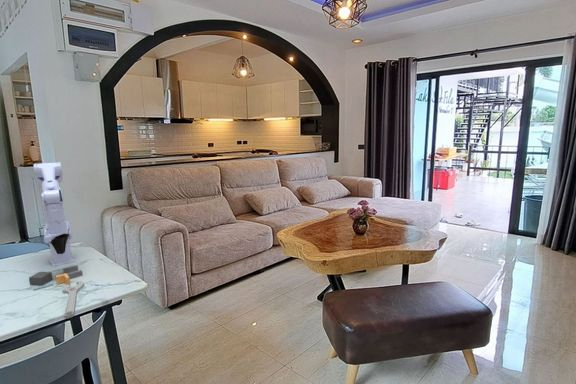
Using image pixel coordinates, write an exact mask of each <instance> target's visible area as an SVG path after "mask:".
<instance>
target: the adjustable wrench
mask: <svg viewBox="0 0 576 384" xmlns="http://www.w3.org/2000/svg"><path fill="white" fill-rule="evenodd" d="M84 287H85V282H84V281H79V280H77V281H76V285H73V286H71V285H67V284H66V285H64V287H63V289H62V290H61V291H62V294H68V296H67V300H66V304H65V308H64V313H63V316H64V319H71V318H73V317H75V312H76V303H77V295H78V294H77V293H79V291H81V290H82V289H84Z"/></svg>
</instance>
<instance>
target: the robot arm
mask: <svg viewBox="0 0 576 384" xmlns="http://www.w3.org/2000/svg"><path fill="white" fill-rule="evenodd" d="M62 169H63V168H62V163H61V162H60V161H57V162H45V163H35V162H34V164H33V172H34V177H35V180H36V183H37V184H38V185H41V190H42V192H40V196H41V202H42V206H43V208H44V212H45V218H46V224H45V225H44V226H43V236H44V237H43V242H44V243H45V244H47V245H49V248H50V257H51V258H50V259H49V260H48V261H49V262H50V264H51V265H52V266H53V267H58V266H60V265H61V266H62V265H64V264H69V263H73V262H75V261H76V260H75V259H74V258H73V257H72V250H71V245H70V244H71V243H70V241H71V240H72V239H73V233H72V227H71V224H70V222H69V221H66V219H65V218H66V217H65V212H64V206H63V203H64V196H63V191H62V189H61V188H60V183H62V182H63V170H62Z"/></svg>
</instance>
